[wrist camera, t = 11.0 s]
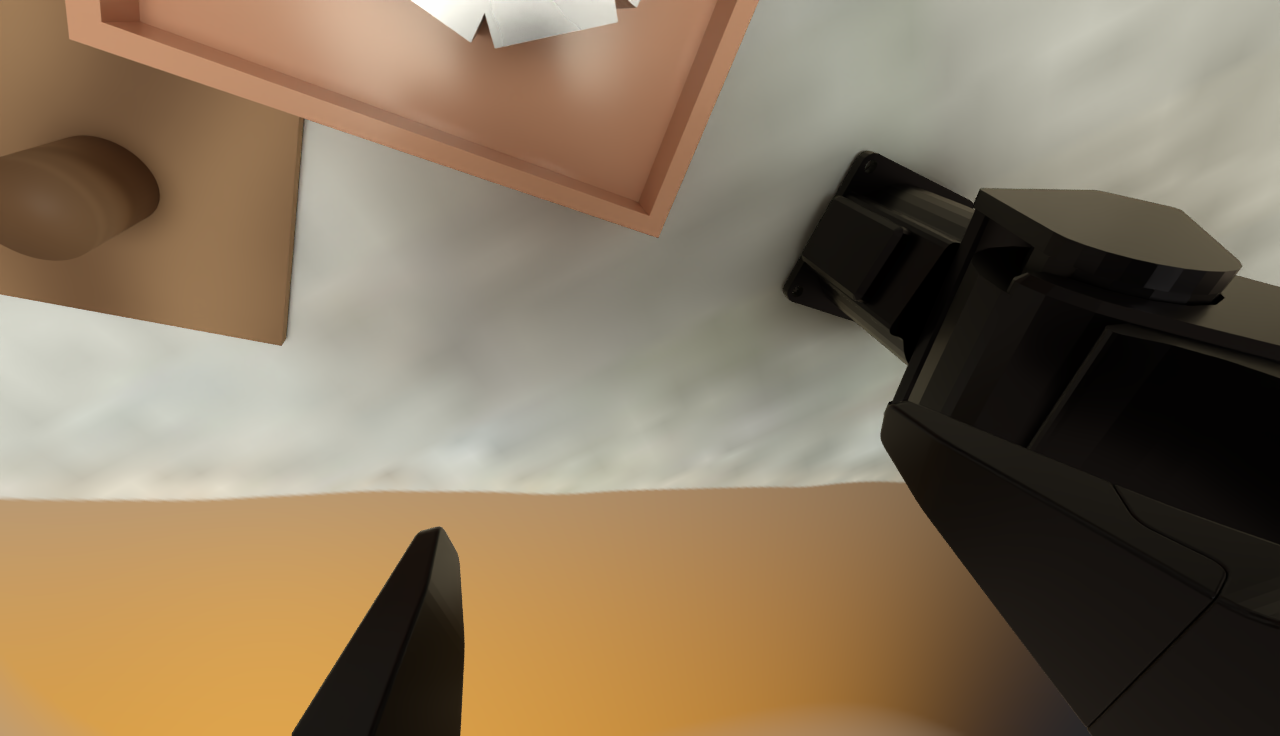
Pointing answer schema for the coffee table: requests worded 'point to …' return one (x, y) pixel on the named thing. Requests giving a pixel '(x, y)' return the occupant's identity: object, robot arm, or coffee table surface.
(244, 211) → the square plate with peg
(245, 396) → the coffee table surface
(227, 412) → the coffee table surface
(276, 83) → the tray
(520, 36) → the grey tankard
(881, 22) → the coffee table surface
